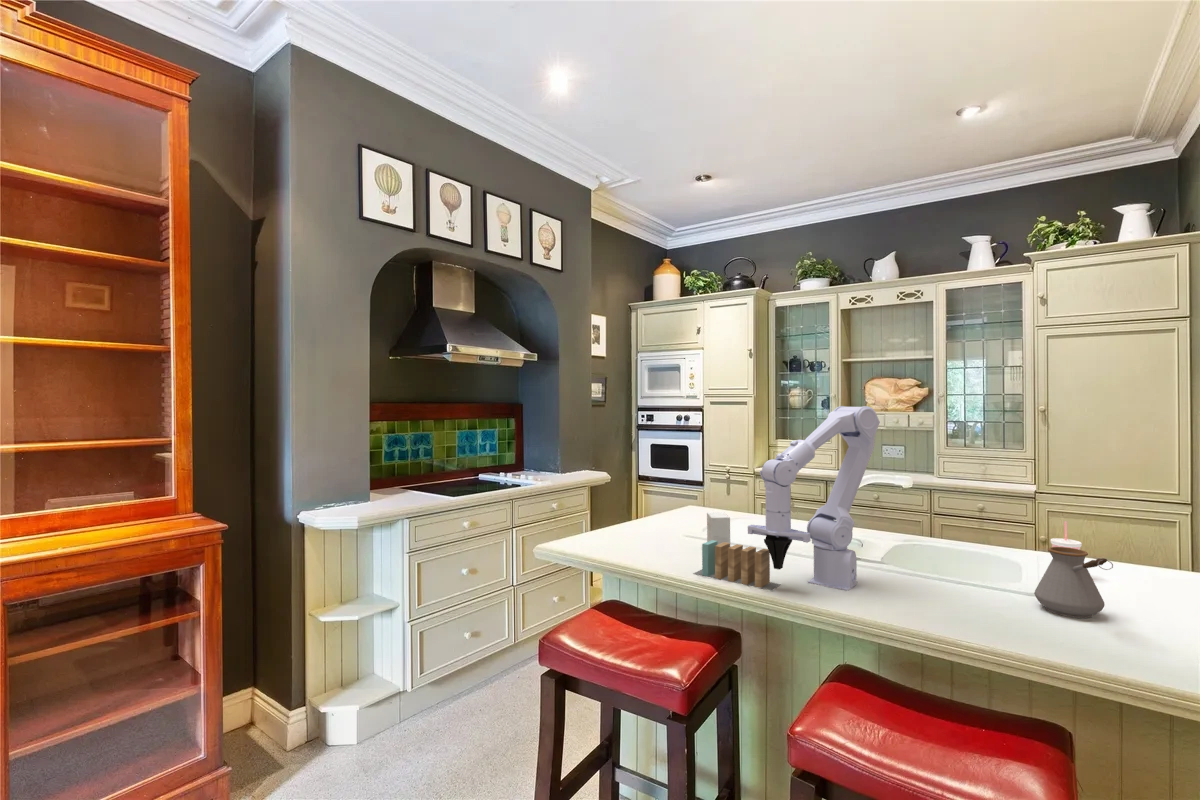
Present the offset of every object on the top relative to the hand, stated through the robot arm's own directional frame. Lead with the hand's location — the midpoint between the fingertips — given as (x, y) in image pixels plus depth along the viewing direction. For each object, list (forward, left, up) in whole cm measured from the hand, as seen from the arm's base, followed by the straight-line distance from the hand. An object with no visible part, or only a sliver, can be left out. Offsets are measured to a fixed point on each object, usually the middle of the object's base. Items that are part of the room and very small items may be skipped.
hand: (778, 568), depth 136 cm
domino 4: (+4, 0, -5) cm, 6 cm away
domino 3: (+7, 0, -5) cm, 9 cm away
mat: (+11, 0, -5) cm, 12 cm away
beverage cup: (-53, -54, -5) cm, 76 cm away
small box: (+28, -24, -5) cm, 37 cm away
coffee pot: (-55, -19, -5) cm, 59 cm away
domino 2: (+11, 0, -5) cm, 12 cm away
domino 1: (+14, 0, -5) cm, 15 cm away
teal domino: (+18, 0, -5) cm, 19 cm away
